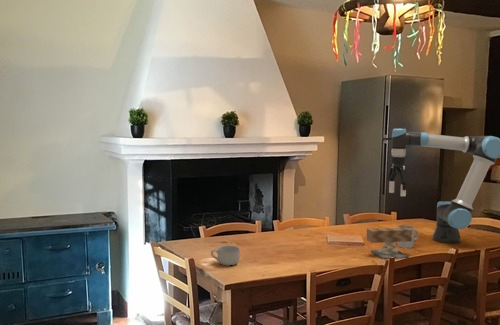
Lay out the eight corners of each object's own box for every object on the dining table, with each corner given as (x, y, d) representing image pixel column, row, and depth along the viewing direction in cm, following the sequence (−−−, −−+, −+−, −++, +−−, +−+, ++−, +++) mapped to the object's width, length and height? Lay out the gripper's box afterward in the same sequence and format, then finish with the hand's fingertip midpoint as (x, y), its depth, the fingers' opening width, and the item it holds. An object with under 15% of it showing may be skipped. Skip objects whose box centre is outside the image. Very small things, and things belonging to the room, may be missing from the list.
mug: (403, 248, 259) (404, 228, 258) (394, 244, 267) (394, 225, 267) (422, 247, 263) (422, 227, 262) (412, 243, 271) (412, 224, 270)
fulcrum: (395, 250, 254) (396, 237, 254) (408, 258, 241) (409, 243, 240) (371, 251, 252) (371, 237, 251) (382, 259, 238) (383, 244, 238)
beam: (405, 238, 250) (406, 227, 250) (411, 241, 245) (412, 229, 244) (366, 240, 247) (366, 228, 246) (371, 242, 241) (371, 231, 240)
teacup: (239, 261, 233) (239, 245, 233) (240, 267, 223) (240, 250, 222) (211, 261, 233) (211, 245, 232) (210, 267, 222) (210, 250, 221)
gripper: (382, 155, 275) (381, 191, 277) (402, 157, 251) (401, 197, 252) (394, 155, 276) (393, 191, 278) (416, 157, 252) (414, 197, 253)
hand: (397, 194), depth 265 cm, fingers open, 13 cm apart
